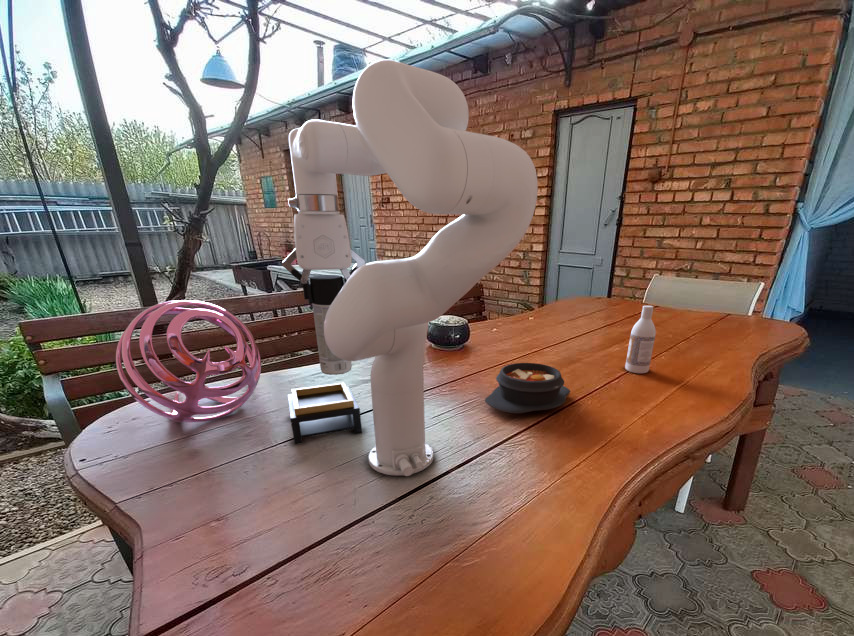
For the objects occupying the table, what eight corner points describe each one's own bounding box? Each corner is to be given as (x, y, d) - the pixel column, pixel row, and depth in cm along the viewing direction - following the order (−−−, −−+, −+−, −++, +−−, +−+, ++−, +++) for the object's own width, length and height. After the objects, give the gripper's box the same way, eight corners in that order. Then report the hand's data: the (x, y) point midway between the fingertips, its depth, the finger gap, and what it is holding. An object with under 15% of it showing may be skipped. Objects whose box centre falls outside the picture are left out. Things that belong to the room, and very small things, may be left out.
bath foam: (624, 365, 137) (635, 303, 129) (647, 368, 135) (660, 304, 127) (624, 372, 131) (635, 307, 123) (648, 375, 129) (661, 309, 121)
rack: (362, 432, 93) (359, 401, 90) (294, 444, 88) (289, 411, 85) (350, 408, 105) (348, 380, 102) (291, 417, 100) (286, 388, 97)
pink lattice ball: (101, 327, 99) (119, 265, 81) (229, 335, 119) (267, 287, 101) (115, 443, 94) (137, 404, 76) (247, 430, 114) (289, 397, 96)
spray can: (356, 366, 96) (348, 274, 88) (345, 376, 90) (335, 279, 82) (328, 365, 97) (317, 274, 89) (315, 375, 91) (302, 278, 83)
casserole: (524, 428, 95) (527, 394, 92) (468, 404, 108) (468, 372, 105) (586, 400, 111) (590, 369, 107) (530, 381, 123) (532, 353, 120)
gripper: (268, 205, 74) (283, 308, 81) (367, 206, 80) (374, 302, 87) (269, 205, 80) (283, 301, 88) (361, 207, 86) (368, 296, 93)
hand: (328, 301), depth 87 cm, fingers closed on spray can, 6 cm apart
